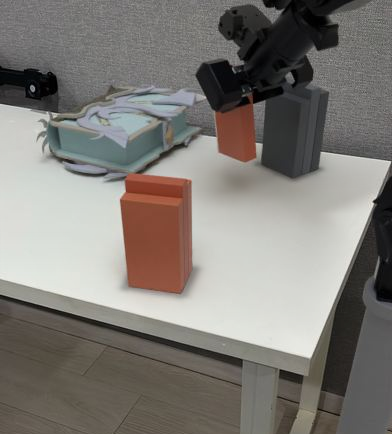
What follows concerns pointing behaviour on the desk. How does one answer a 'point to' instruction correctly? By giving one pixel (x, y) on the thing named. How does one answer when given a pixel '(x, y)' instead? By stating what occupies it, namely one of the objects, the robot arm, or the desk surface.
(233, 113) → the terracotta book
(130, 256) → the terracotta books
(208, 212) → the desk surface
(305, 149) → the grey books
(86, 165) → the ornate book
